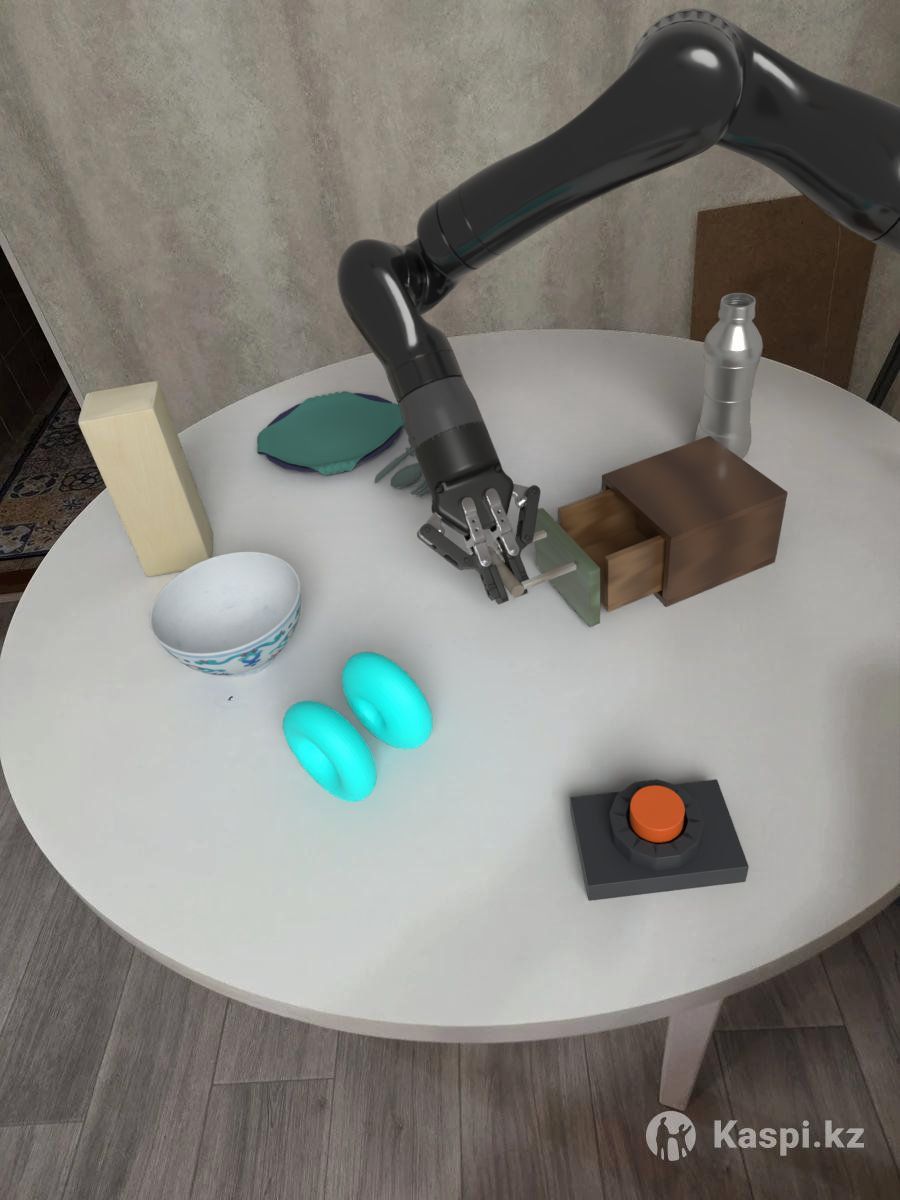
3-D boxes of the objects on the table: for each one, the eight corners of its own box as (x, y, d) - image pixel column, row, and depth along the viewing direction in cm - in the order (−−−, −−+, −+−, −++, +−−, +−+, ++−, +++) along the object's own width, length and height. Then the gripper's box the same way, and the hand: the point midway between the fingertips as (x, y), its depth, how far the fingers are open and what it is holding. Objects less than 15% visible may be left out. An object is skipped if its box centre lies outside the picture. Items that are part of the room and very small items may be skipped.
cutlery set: (327, 393, 131) (324, 379, 129) (494, 438, 116) (492, 423, 114) (234, 460, 119) (229, 446, 118) (405, 518, 105) (402, 503, 103)
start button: (675, 795, 68) (676, 782, 67) (689, 839, 65) (691, 826, 64) (624, 801, 68) (625, 788, 67) (636, 846, 65) (636, 833, 64)
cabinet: (666, 607, 88) (671, 537, 82) (601, 541, 97) (601, 474, 91) (775, 562, 92) (788, 492, 85) (702, 502, 100) (709, 435, 94)
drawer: (525, 654, 85) (521, 599, 80) (476, 587, 93) (469, 534, 88) (695, 584, 89) (701, 528, 84) (634, 527, 97) (636, 472, 92)
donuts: (291, 769, 78) (263, 697, 72) (369, 702, 84) (350, 628, 77) (367, 828, 73) (344, 755, 66) (446, 751, 78) (431, 677, 71)
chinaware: (346, 645, 90) (330, 589, 85) (227, 733, 83) (202, 678, 77) (262, 586, 98) (243, 533, 93) (148, 662, 91) (121, 609, 86)
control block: (714, 794, 72) (719, 765, 69) (745, 882, 66) (752, 853, 63) (570, 812, 72) (569, 784, 69) (588, 901, 66) (588, 874, 63)
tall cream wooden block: (215, 529, 108) (158, 376, 94) (213, 565, 102) (152, 408, 88) (152, 541, 107) (85, 389, 93) (146, 578, 102) (74, 423, 88)
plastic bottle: (716, 477, 104) (733, 319, 90) (682, 452, 109) (694, 297, 95) (760, 461, 105) (784, 302, 92) (725, 436, 110) (742, 282, 97)
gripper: (389, 445, 80) (457, 620, 79) (520, 401, 83) (587, 569, 82) (379, 466, 87) (442, 627, 87) (500, 425, 90) (561, 579, 90)
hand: (512, 598), depth 85 cm, fingers closed
